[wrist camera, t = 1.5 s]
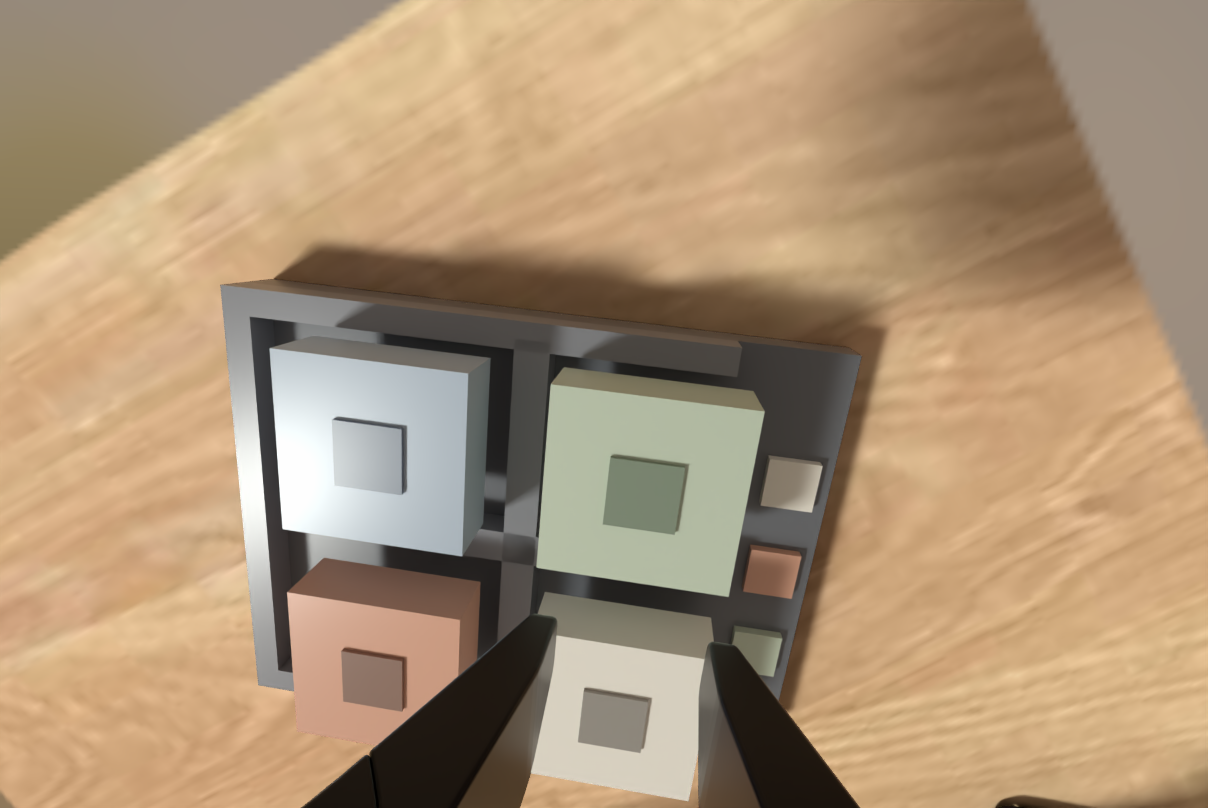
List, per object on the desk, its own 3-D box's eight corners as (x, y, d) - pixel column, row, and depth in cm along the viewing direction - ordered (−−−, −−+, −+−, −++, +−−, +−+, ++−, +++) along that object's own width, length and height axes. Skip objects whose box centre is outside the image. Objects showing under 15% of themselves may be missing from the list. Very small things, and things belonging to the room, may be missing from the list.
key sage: (753, 390, 15) (765, 413, 13) (722, 558, 16) (729, 600, 14) (564, 367, 15) (549, 385, 13) (549, 533, 17) (535, 570, 15)
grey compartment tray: (848, 347, 17) (874, 363, 15) (761, 720, 21) (772, 774, 19) (271, 278, 18) (220, 285, 16) (296, 642, 22) (258, 685, 20)
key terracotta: (480, 581, 17) (458, 622, 16) (474, 711, 19) (454, 763, 17) (324, 557, 18) (284, 594, 16) (330, 687, 19) (294, 734, 17)
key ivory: (711, 617, 17) (716, 664, 15) (686, 748, 18) (688, 804, 17) (545, 591, 17) (530, 634, 15) (534, 721, 19) (519, 775, 17)
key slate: (490, 358, 15) (466, 374, 13) (482, 523, 17) (460, 558, 15) (313, 335, 16) (266, 349, 14) (321, 499, 17) (279, 531, 15)
